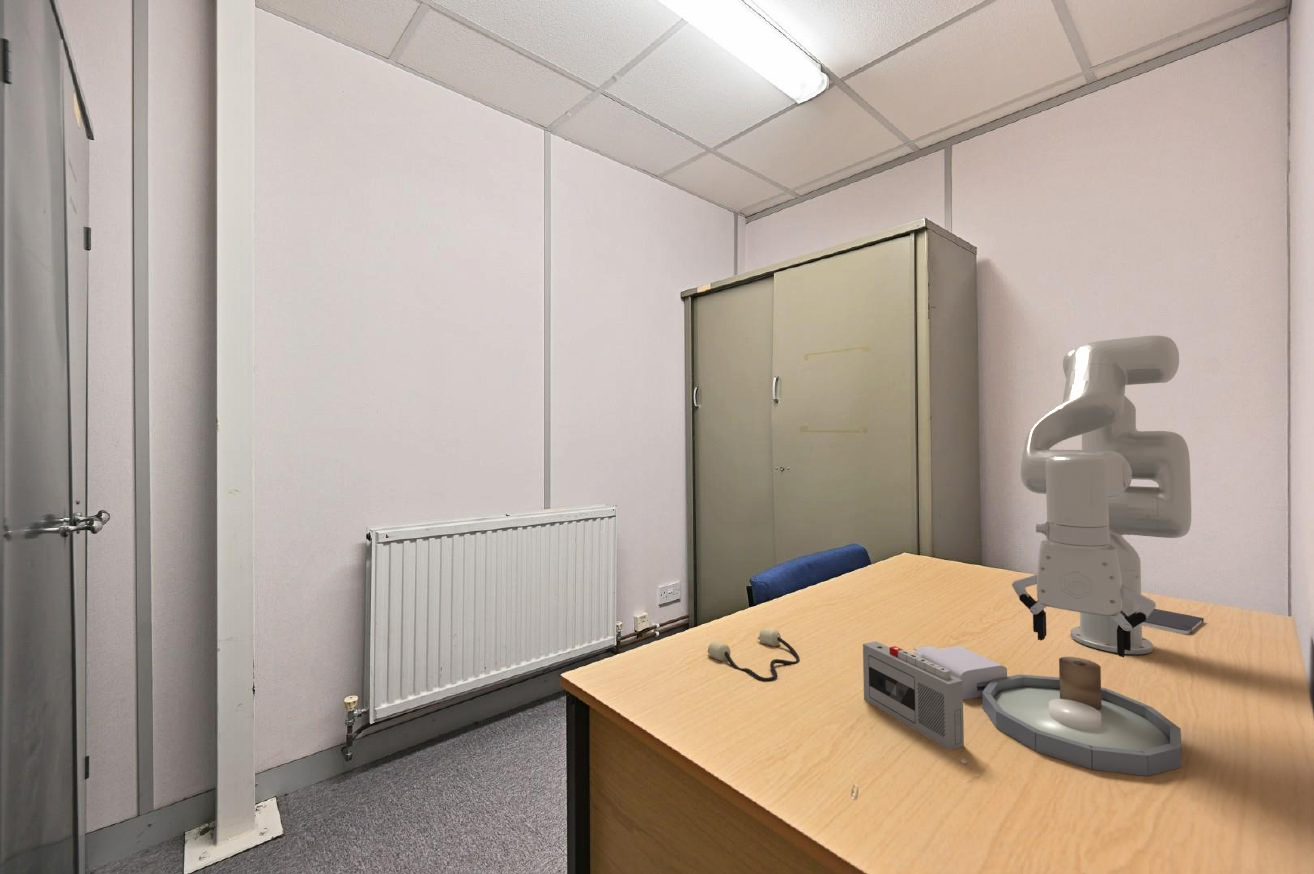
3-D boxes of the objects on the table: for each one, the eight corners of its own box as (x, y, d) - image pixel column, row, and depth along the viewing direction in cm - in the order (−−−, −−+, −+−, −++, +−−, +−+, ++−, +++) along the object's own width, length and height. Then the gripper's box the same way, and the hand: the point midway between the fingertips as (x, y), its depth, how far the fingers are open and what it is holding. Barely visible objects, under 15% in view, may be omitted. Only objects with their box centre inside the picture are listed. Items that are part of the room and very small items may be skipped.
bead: (1062, 691, 86) (1061, 653, 86) (1102, 701, 82) (1102, 662, 82) (1057, 703, 82) (1056, 663, 82) (1099, 714, 79) (1098, 672, 79)
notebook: (1203, 624, 118) (1085, 601, 136) (1203, 617, 118) (1085, 595, 136) (1188, 637, 111) (1065, 611, 129) (1188, 630, 111) (1065, 604, 129)
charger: (938, 657, 103) (1007, 693, 88) (897, 663, 100) (961, 701, 86) (938, 632, 103) (1007, 664, 88) (896, 638, 100) (960, 671, 86)
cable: (825, 665, 101) (824, 647, 101) (760, 688, 92) (760, 668, 92) (766, 639, 114) (766, 623, 114) (705, 657, 105) (704, 640, 105)
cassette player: (863, 699, 87) (862, 637, 87) (876, 696, 88) (875, 635, 88) (949, 751, 72) (948, 676, 72) (963, 746, 73) (962, 673, 73)
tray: (1003, 678, 93) (1003, 663, 93) (1180, 723, 78) (1180, 706, 78) (968, 729, 77) (967, 711, 77) (1181, 798, 62) (1181, 776, 62)
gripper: (1005, 532, 86) (1008, 639, 86) (1153, 546, 74) (1156, 670, 74) (1016, 525, 91) (1018, 625, 91) (1155, 537, 79) (1157, 652, 79)
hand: (1080, 645), depth 83 cm, fingers open, 9 cm apart
